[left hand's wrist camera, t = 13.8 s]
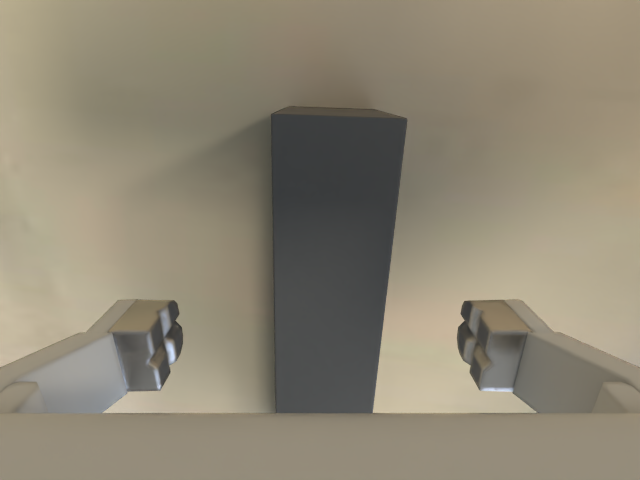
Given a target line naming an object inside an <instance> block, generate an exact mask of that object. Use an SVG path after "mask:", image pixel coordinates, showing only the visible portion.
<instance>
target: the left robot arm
mask: <svg viewBox="0 0 640 480" xmlns="http://www.w3.org/2000/svg"><path fill="white" fill-rule="evenodd" d="M178 315H179V309H178V305H177V303H176V302H175V301H174V300H138V299H132V300H118V301H117V302H116V303H115V304H114V305H113V306H112V307H111V308H110V309H109V310H108V311H107V312H106V313H105V314H104V315H103V316H102V317H101V318H100V319H99V320H98V321H97V322H96V323H95V324H94V325H93V326H92V327H91V328H90V329H89V330H88V331H87V332H86V333H78V334H75V335H73V336H71V337H69V338H66V339H64V340H62V341H59V342H57V343H55V344H53V345H50V346H48V347H46V348H44V349H41V350H39V351H37V352H34V353H32V354H30V355H28V356H25V357H23V358H21V359H19V360H16V361H14V362H12V363H9V364H7V365H5V366H3V367H0V480H640V368H639V367H637V366H635V365H633V364H630V363H628V362H626V361H624V360H621V359H619V358H617V357H615V356H612V355H610V354H608V353H605V352H603V351H601V350H599V349H596V348H594V347H592V346H590V345H587V344H585V343H583V342H581V341H578V340H576V339H574V338H571V337H569V336H567V335H565V334H562V333H554V332H553V331H552V330H551V329H550V328H549V327H548V326H547V325H546V324H545V323H544V322H543V321H542V320H541V319H540V318H539V317H538V316H537V315H536V314H535V313H534V312H533V311H532V310H531V309H530V308H529V307H528V306H527V305H526V304H525V303H524V302H523V301H521V300H519V299H512V300H477V301H464V303H463V305H462V309H461V315H462V317H463V319H464V320H465V321H464V322H463V323H462V324H461V325H460V326H459V327H458V334H457V343H458V349H459V353H460V355H461V357H462V359H463V361H465V362H466V363H468V364H469V365H471V367H470V374H471V376H472V377H473V379H474V381H475V383H476V385H477V387H478V388H479V390H480V391H513V394H515V395H516V396H517V397H518V398H520V399H521V400H522V401H524V402H525V403H526V404H527V405H529V406H530V407H531V408H533V409H534V410H535V411H536V412H538V413H102V412H104V411H105V410H106V409H108V408H109V407H110V406H111V405H113V404H114V403H115V402H117V401H118V400H119V399H120V398H122V397H123V396H124V395H126V394H127V391H160V390H161V388H162V387H163V385H164V383H165V381H166V379H167V378H168V376H169V374H170V367H169V365H171V364H172V363H174V362H175V361H177V359H178V357H179V355H180V353H181V349H182V344H183V333H182V327H181V326H180V325H179V324H178V323H177V322H176V321H175V320H176V319H177V317H178Z"/></svg>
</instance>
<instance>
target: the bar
mask: <svg viewBox="0 0 640 480" xmlns="http://www.w3.org/2000/svg"><path fill="white" fill-rule="evenodd" d="M406 126H407V119H406V118H403V117H400V116H396V115H393V114H389V113H385V112H382V111H378V110H375V109H347V108H319V107H291V106H289V107H287V108H284V109H282V110H280V111H277V112H275V113H273V114H271V143H272V204H273V265H274V326H275V387H276V413H373V405H374V396H375V388H376V380H377V371H378V363H379V354H380V346H381V337H382V329H383V320H384V312H385V303H386V295H387V287H388V278H389V270H390V261H391V253H392V244H393V236H394V227H395V219H396V210H397V202H398V194H399V185H400V177H401V168H402V160H403V151H404V143H405V134H406Z"/></svg>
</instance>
